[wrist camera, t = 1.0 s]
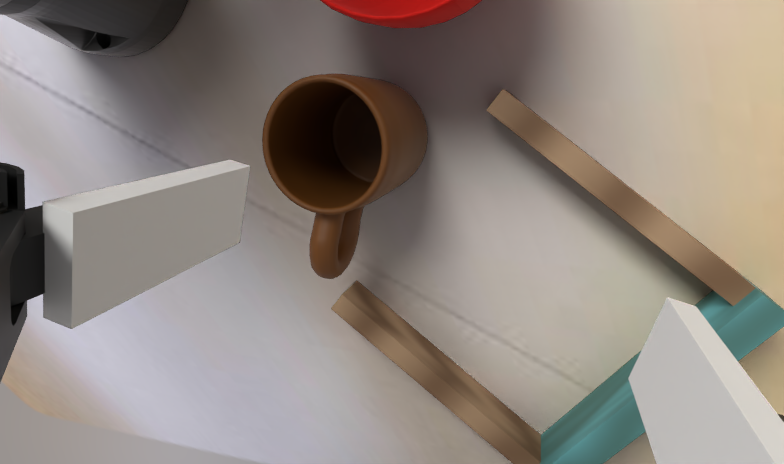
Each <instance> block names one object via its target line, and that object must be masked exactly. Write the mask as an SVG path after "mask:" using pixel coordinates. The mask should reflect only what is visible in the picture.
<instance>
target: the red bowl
mask: <svg viewBox="0 0 784 464" xmlns="http://www.w3.org/2000/svg"><path fill="white" fill-rule="evenodd" d="M320 1H322V2H323V3H324V4H326V5H327V6H328V7H330V8H331V9H333V10H335V11H338V12H340V13H342V14H344V15H346V16H349V17H351V18H353V19H355V20H358V21H361V22H365V23H370V24H375V25H380V26H385V27H391V28H422V27H426V26H430V25H435V24H439V23H443V22H446V21H448V20H450V19H453V18H455V17H457V16H459V15H461V14H463V13H465V12H467V11H468V10H470V9H471V8H472V7H474V6H475V5H477V4H478V3H479V2H481V1H482V0H320Z"/></svg>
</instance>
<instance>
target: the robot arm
mask: <svg viewBox="0 0 784 464" xmlns="http://www.w3.org/2000/svg"><path fill="white" fill-rule="evenodd" d="M186 2H187V0H0V14H2V15H6V16H8V17H10V18H12V19H14V20H16V21H18V22H20V23H22V24H24V25H26V26H28V27H30V28H32V29H34V30H36V31H38V32H40V33H42V34H44V35H46V36H48V37H51V38H53V39H55V40H57V41H59V42H61V43H63V44H65V45H67V46H69V47H71V48H74V49H76V50H79V51H83V52H87V53H91V54H99V55H108V56H118V57H123V56H132V55H136V54H139V53H142V52H144V51H147V50H149V49H150V48H152V47H154V46H155V45H156V44H158V43H159V42H160V41H161V40H163V39H164V38H165V37H166V36H167V35H168V33H169V32H170V31H171V30H172V28H173V27H174V26H175V24H176V23H177V21H178V19H179V18H180V16H181V14H182V12H183V9H184V7H185V5H186ZM249 172H250V166H249V165H246V164H242V163H239V162H236V161H233V160H226V161H221V162H217V163H213V164H208V165H204V166H199V167H195V168H190V169H186V170H182V171H177V172H173V173H168V174H164V175H159V176H155V177H150V178H146V179H142V180H137V181H133V182H128V183H124V184H119V185H115V186H111V187H106V188H102V189H97V190H93V191H88V192H84V193H80V194H75V195H71V196H66V197H62V198H57V199H53V200H48V201H44V202H43V205H42V206H38V207H34V208H29V209H25V187H24V170H22V169H21V168H19V167H17V166H14V165H10V164H6V163H0V382H1V379H2V377H3V374H4V372H5V370H6V367H7V365H8V362H9V360H10V357H11V355H12V352H13V350H14V347H15V345H16V342H17V340H18V337H19V335H20V332H21V330H22V327H23V325H24V322H25V320H26V317H27V300H29V299H31V298H34V297H36V296H39V295H41V294H43V317H44V318H46V319H48V320H51V321H53V322H55V323H58V324H60V325H63V326H65V327H67V328H70V329H73V328H75V327H77V326H78V325H80V324H82V323H84V322H86V321H88V320H90V319H92V318H94V317H96V316H98V315H100V314H102V313H104V312H106V311H108V310H110V309H111V308H113V307H115V306H117V305H119V304H121V303H123V302H125V301H127V300H129V299H131V298H133V297H135V296H137V295H139V294H141V293H143V292H145V291H146V290H148V289H150V288H152V287H154V286H156V285H158V284H160V283H162V282H164V281H166V280H168V279H170V278H172V277H174V276H176V275H178V274H179V273H181V272H183V271H185V270H187V269H189V268H191V267H193V266H195V265H197V264H199V263H201V262H203V261H205V260H207V259H209V258H211V257H213V256H214V255H216V254H218V253H220V252H222V251H224V250H226V249H228V248H230V247H232V246H234V245H236V244H238V243H240V237H241V230H242V222H243V215H244V208H245V201H246V194H247V187H248V180H249ZM628 379H629V382H630V385H631V388H632V391H633V394H634V397H635V400H636V403H637V406H638V409H639V412H640V415H641V418H642V421H643V424H644V427H645V430H646V433H647V436H648V439H649V442H650V445H651V448H652V452H653V455H654V458H655V461H656V464H784V416H783V415H780V414H777V413H776V411H775V410H774V409H773V407H772V406H771V405H770V403H769V402H768V401H767V400H766V398H765V397H764V396H763V394H762V393H761V392H760V390H759V389H758V388H757V386H756V385H755V384H754V382H753V381H752V380H751V378H750V377H749V376H748V374H747V373H746V372H745V370H744V369H743V368H742V366H741V365H740V364H739V362H738V361H737V360H736V358H735V357H734V356H733V354H732V353H731V352H730V350H729V349H728V348H727V347H726V345H725V344H724V343H723V341H722V340H721V339H720V337H719V336H718V335H717V333H716V332H715V331H714V329H713V328H712V327H711V325H710V324H709V323H708V321H707V320H706V319H705V317H704V316H703V315H702V313H701V312H700V311H699V309H698V308H697V307H696V306H694V305H690V304H687V303H684V302H681V301H678V300H675V299H671V298H668V297H667V299H666V301H665V303H664V305H663V307H662V309H661V311H660V313H659V315H658V317H657V319H656V322H655V324H654V326H653V328H652V330H651V332H650V334H649V336H648V338H647V340H646V342H645V344H644V347H643V349H642V351H641V353H640V355H639V357H638V359H637V361H636V363H635V365H634V367H633V370H632V372H631V374H630V376H629V378H628Z"/></svg>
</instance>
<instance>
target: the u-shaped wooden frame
mask: <svg viewBox="0 0 784 464" xmlns="http://www.w3.org/2000/svg"><path fill="white" fill-rule="evenodd" d="M486 111H488V112H489V113H490V114H491V115H493V116H494V117H495V118H497V119H498V120H499V121H500V122H502V123H503V124H504V125H505V126H507V127H508V128H509V129H510V130H512V131H513V132H514V133H515V134H517V135H518V136H519V137H520V138H522V139H523V140H524V141H526V142H527V143H528V144H529V145H531V146H532V147H533V148H534V149H536V150H537V151H538V152H539V153H541V154H542V155H543V156H544V157H546V158H547V159H548V160H550V161H551V162H552V163H553V164H555V165H556V166H557V167H558V168H560V169H561V170H562V171H563V172H565V173H566V174H567V175H568V176H570V177H571V178H572V179H574V180H575V181H576V182H577V183H579V184H580V185H581V186H582V187H584V188H585V189H586V190H587V191H589V192H590V193H591V194H592V195H594V196H595V197H596V198H598V199H599V200H600V201H601V202H603V203H604V204H605V205H606V206H608V207H609V208H610V209H611V210H613V211H614V212H615V213H616V214H618V215H619V216H620V217H622V218H623V219H624V220H625V221H627V222H628V223H629V224H630V225H632V226H633V227H634V228H635V229H637V230H638V231H639V232H640V233H642V234H643V235H644V236H646V237H647V238H648V239H649V240H651V241H652V242H653V243H654V244H656V245H657V246H658V247H659V248H661V249H662V250H663V251H664V252H666V253H667V254H668V255H670V256H671V257H672V258H673V259H675V260H676V261H677V262H678V263H680V264H681V265H682V266H683V267H685V268H686V269H687V270H688V271H690V272H691V273H692V274H694V275H695V276H696V277H697V278H699V279H700V280H701V281H702V282H704V283H705V284H706V285H707V286H709V287H710V288H711V289H712V290H713V291H711V292H710V293H709V294H708V295H707V296H706V297H704V298H703V299H702V300H701V301H700V302H698V303H697V304H696V305H695V306H696V307H697V308H698V309H699V311H700V312H701V313H702V315H703V316H704V317H705V319H706V320H707V321H708V323H709V324H710V325H711V327H712V328H713V329H714V331H715V332H716V333H717V335H718V336H719V337H720V339H721V340H722V341H723V343H724V344H725V345H726V347H727V348H728V349H729V350H730V352H731V353H732V354H733V356H734V357H735V358H736V360H737V361H739V360H740V359H742V358H743V357H744V356H745V355H747V354H748V353H749V352H751V351H752V350H753V349H755V348H756V347H757V346H759V345H760V344H761V343H763V342H764V341H765V340H767V339H768V338H769V337H771V336H772V335H773V334H774V333H776V332H777V331H778V330H780V329H781V328H782V327H784V310H783V309H782V308H781V307H780V306H779V305H778V304H776V303H775V302H774V301H773V300H772V299H771V298H769V297H768V296H767V295H766V294H765V293H764V292H762V291H761V290H760V289H759V288H757V287H756V286H755V285H753V284H752V283H751V282H750V281H748V280H747V279H746V278H745V277H743V276H742V275H741V274H739V273H738V272H737V271H736V270H734V269H733V268H732V267H731V266H729V265H728V264H727V263H725V262H724V261H723V260H722V259H720V258H719V257H718V256H717V255H715V254H714V253H713V252H711V251H710V250H709V249H708V248H706V247H705V246H704V245H703V244H701V243H700V242H699V241H697V240H696V239H695V238H694V237H692V236H691V235H690V234H689V233H687V232H686V231H685V230H683V229H682V228H681V227H680V226H678V225H677V224H676V223H675V222H673V221H672V220H671V219H669V218H668V217H667V216H666V215H664V214H663V213H662V212H661V211H659V210H658V209H657V208H655V207H654V206H653V205H652V204H650V203H649V202H648V201H647V200H645V199H644V198H643V197H641V196H640V195H639V194H638V193H636V192H635V191H634V190H633V189H631V188H630V187H629V186H627V185H626V184H625V183H624V182H622V181H621V180H620V179H619V178H617V177H616V176H615V175H613V174H612V173H611V172H610V171H608V170H607V169H606V168H605V167H603V166H602V165H601V164H599V163H598V162H597V161H596V160H594V159H593V158H592V157H591V156H589V155H588V154H587V153H585V152H584V151H583V150H582V149H580V148H579V147H578V146H577V145H575V144H574V143H573V142H571V141H570V140H569V139H568V138H566V137H565V136H564V135H563V134H561V133H560V132H559V131H557V130H556V129H555V128H554V127H552V126H551V125H550V124H548V123H547V122H546V121H545V120H543V119H542V118H541V117H540V116H538V115H537V114H536V113H534V112H533V111H532V110H531V109H529V108H528V107H527V106H526V105H524V104H523V103H522V102H520V101H519V100H518V99H517V98H515V97H514V96H513V95H512V94H510V93H509V92H508V91H506V90H504V89H502V91H501V92H500V93H499V94H498V96H497V97H496V98H495V100H494V101H493V102H492V103H491V105H490V106H489V107H488V109H487V110H486ZM331 309H332V310H333V311H334V312H335V313H337V314H338V315H339V316H340V317H341V318H343V319H344V320H345V321H346V322H347V323H348V324H350V325H351V326H352V327H353V328H354V329H355V330H357V331H358V332H359V333H360V334H361V335H363V336H364V337H365V338H366V339H367V340H368V341H370V342H371V343H372V344H373V345H374V346H375V347H377V348H378V349H379V350H380V351H381V352H383V353H384V354H385V355H386V356H387V357H388V358H390V359H391V360H392V361H393V362H394V363H395V364H397V365H398V366H399V367H400V368H401V369H402V370H404V371H405V372H406V373H407V374H408V375H410V376H411V377H412V378H413V379H414V380H415V381H417V382H418V383H419V384H420V385H421V386H422V387H424V388H425V389H426V390H427V391H428V392H430V393H431V394H432V395H433V396H434V397H435V398H437V399H438V400H439V401H440V402H441V403H442V404H444V405H445V406H446V407H447V408H448V409H450V410H451V411H452V412H453V413H454V414H455V415H457V416H458V417H459V418H460V419H461V420H462V421H464V422H465V423H466V424H467V425H468V426H470V427H471V428H472V429H473V430H474V431H475V432H477V433H478V434H479V435H480V436H481V437H482V438H484V439H485V440H486V441H487V442H488V443H490V444H491V445H492V446H493V447H494V448H495V449H497V450H498V451H499V452H500V453H501V454H502V455H504V456H505V457H506V458H507V459H508V460H510V461H511V462H512V463H513V464H603V463H604V462H606V461H607V460H608V459H610V458H611V457H612V456H614V455H615V454H616V453H618V452H619V451H620V450H622V449H623V448H624V447H626V446H627V445H628V444H629V443H631V442H632V441H633V440H635V439H636V438H637V437H639V436H640V435H641V434H643V433H644V432H645V431H646V430H645V427H644V424H643V421H642V418H641V415H640V412H639V409H638V406H637V403H636V400H635V397H634V394H633V391H632V388H631V385H630V382H629V379H628V378H629V376H630V374H631V372H632V370H633V367H634V365H635V363H636V361H637V359H638V357H639V355H640V353H641V351H642V350H641V351H640V352H639V353H638V354H637V355H636V356H634V357H633V358H632V359H631V360H630V361H628V362H627V363H626V364H625V365H624V366H622V367H621V368H620V369H619V370H618V371H617V372H615V373H614V374H613V375H612V376H611V377H609V378H608V379H607V380H606V381H605V382H603V383H602V384H601V385H600V386H599V387H598V388H596V389H595V390H594V391H593V392H592V393H590V394H589V395H588V396H587V397H586V398H584V399H583V400H582V401H581V402H580V403H579V404H577V405H576V406H575V407H574V408H573V409H571V410H570V411H569V412H568V413H567V414H565V415H564V416H563V417H562V418H561V419H560V420H558V421H557V422H556V423H555V424H554V425H552V426H551V427H550V428H549V429H548V430H546V431H545V432H544V433H543V434H542V435H540V434H539V433H538V432H536V431H535V430H534V429H533V428H532V427H530V426H529V425H528V424H527V423H526V422H524V421H523V420H522V419H521V418H520V417H519V416H517V415H516V414H515V413H514V412H513V411H511V410H510V409H509V408H508V407H507V406H505V405H504V404H503V403H502V402H501V401H500V400H498V399H497V398H496V397H495V396H494V395H492V394H491V393H490V392H489V391H488V390H486V389H485V388H484V387H483V386H482V385H481V384H479V383H478V382H477V381H476V380H475V379H473V378H472V377H471V376H470V375H469V374H467V373H466V372H465V371H464V370H463V369H461V368H460V367H459V366H458V365H457V364H456V363H454V362H453V361H452V360H451V359H450V358H448V357H447V356H446V355H445V354H444V353H442V352H441V351H440V350H439V349H438V348H437V347H435V346H434V345H433V344H432V343H431V342H429V341H428V340H427V339H426V338H425V337H423V336H422V335H421V334H420V333H419V332H418V331H416V330H415V329H414V328H413V327H412V326H410V325H409V324H408V323H407V322H406V321H404V320H403V319H402V318H401V317H400V316H398V315H397V314H396V313H395V312H394V311H393V310H391V309H390V308H389V307H388V306H387V305H385V304H384V303H383V302H382V301H381V300H379V299H378V298H377V297H376V296H375V295H374V294H372V293H371V292H370V291H369V290H368V289H366V288H365V287H364V286H363V285H362V284H360V283H359V282H358V281H356V282H355V283H354V284H353V285H352V286H351V287H349V288H348V289H347V290H346V291H345V292H344V293H343V294H342V295H341V297H340V298H339V299H338V300H337V302H336V303H335V304H334V306H333V307H332V308H331Z"/></svg>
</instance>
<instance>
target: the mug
mask: <svg viewBox="0 0 784 464" xmlns="http://www.w3.org/2000/svg"><path fill="white" fill-rule="evenodd" d="M262 143H263V153H264V158H265V162H266V165H267V168H268V171H269V173H270V175H271V177H272V179H273V181H274V182H275V183H276V185H277V186H278V188H279V189H280V190H281V191H282V192H283V194H284V195H286V196H287V197H288V198H289V199H290V200H291V201H293V202H294V203H295V204H297V205H299V206H301V207H302V208H304V209H307V210H309V211H311V212H315V213H316V216H315V220H314V225H313V230H312V234H311V239H310V261H311V266H312V268H313V270H314V271H315V273H316V274H317V275H318V276H320V277H323V278H327V279H333V278H335V277H338V276H339V275H341V274H342V273H343V272H344V270H345V269H346V268H347V267H348V265H349V263H350V261H351V259H352V257H353V254H354V252H355V248H356V245H357V241H358V235H359V228H360V220H361V215H362V211H363V208H364V206H365V205H367V204H369V203H372V202H373V201H375V200H377V199H379V198H380V197H382V196H384V195H385V194H387V193H389V192H390V191H392V190H393V189H395V188H396V187H398V186H400V185H401V184H403V183H404V182H406V181H407V180H408V179H409V178H410V177H411V176H412V175H413V174H414V173H415V172H416V170H417V169H418V167H419V166H420V164H421V162H422V160H423V158H424V155H425V152H426V147H427V126H426V121H425V118H424V115H423V113H422V111H421V109H420V107H419V106H418V104H417V103H416V101H415V100H414V99H413V98H412V97H411V95H409V94H408V93H407V92H406V91H405V90H403V89H402V88H400V87H399V86H397V85H394V84H392V83H389V82H386V81H383V80H377V79H371V78H365V77H359V76H352V75H345V74H326V75H314V76H309V77H305V78H302V79H300V80H298V81H295V82H294V83H292V84H291V85H289V86H288V87H287V88H286V89H284V90H283V91H282V92H281V93H280V94H279V96H278V97H277V98H276V99H275V101H274V102H273V104H272V105H271V107H270V110H269V112H268V114H267V117H266V120H265V123H264V128H263V137H262Z"/></svg>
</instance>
